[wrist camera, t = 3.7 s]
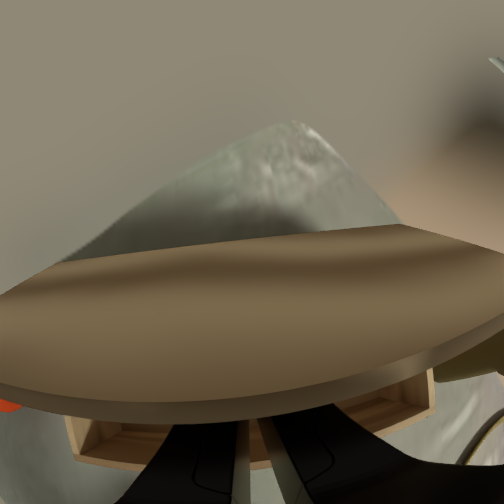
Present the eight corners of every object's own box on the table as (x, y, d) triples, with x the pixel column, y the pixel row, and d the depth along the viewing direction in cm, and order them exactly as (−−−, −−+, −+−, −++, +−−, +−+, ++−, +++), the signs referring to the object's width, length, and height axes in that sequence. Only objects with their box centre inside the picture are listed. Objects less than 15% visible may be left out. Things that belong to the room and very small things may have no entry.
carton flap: (556, 288, 4) (559, 274, 4) (-73, 366, 3) (-79, 352, 2) (399, 231, 15) (399, 223, 15) (59, 270, 13) (57, 262, 13)
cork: (463, 376, 19) (545, 369, 9) (422, 388, 19) (512, 391, 9) (462, 320, 21) (542, 293, 11) (422, 324, 21) (511, 298, 11)
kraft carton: (382, 399, 19) (435, 412, 12) (120, 433, 17) (75, 460, 10) (359, 266, 23) (402, 231, 16) (105, 296, 21) (56, 270, 14)
